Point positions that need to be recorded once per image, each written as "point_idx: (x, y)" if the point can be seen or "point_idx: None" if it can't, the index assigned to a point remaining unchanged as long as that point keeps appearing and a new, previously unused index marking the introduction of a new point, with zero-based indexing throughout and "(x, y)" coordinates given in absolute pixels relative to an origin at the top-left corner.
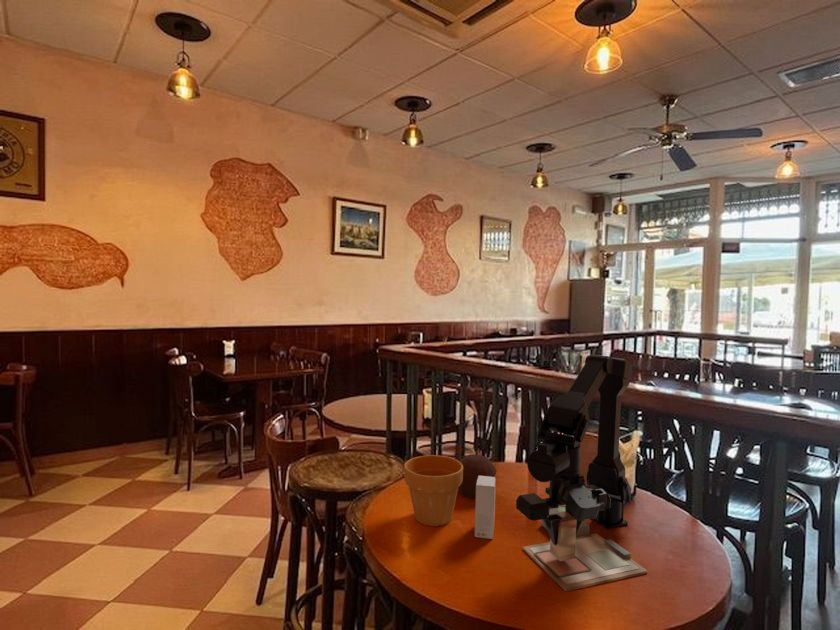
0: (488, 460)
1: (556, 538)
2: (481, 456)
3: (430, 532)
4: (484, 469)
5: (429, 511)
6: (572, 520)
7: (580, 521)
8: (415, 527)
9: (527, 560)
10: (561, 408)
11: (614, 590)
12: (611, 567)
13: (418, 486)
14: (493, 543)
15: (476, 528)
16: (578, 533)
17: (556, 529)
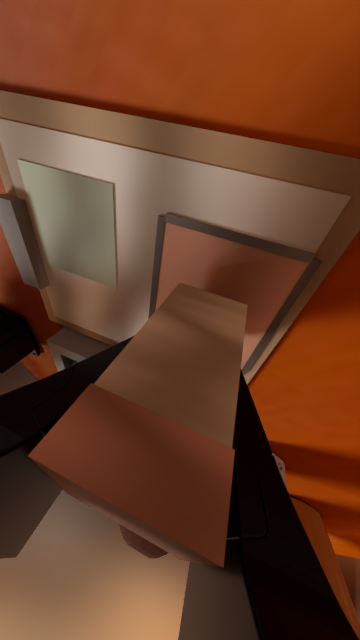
0: (123, 531)
1: (238, 392)
2: (129, 545)
3: (339, 509)
4: None
5: (333, 560)
6: (77, 475)
7: (24, 399)
8: (343, 523)
9: (275, 370)
10: None
11: (169, 24)
12: (84, 182)
13: None
14: (272, 436)
15: (285, 485)
16: (85, 342)
17: (251, 464)
